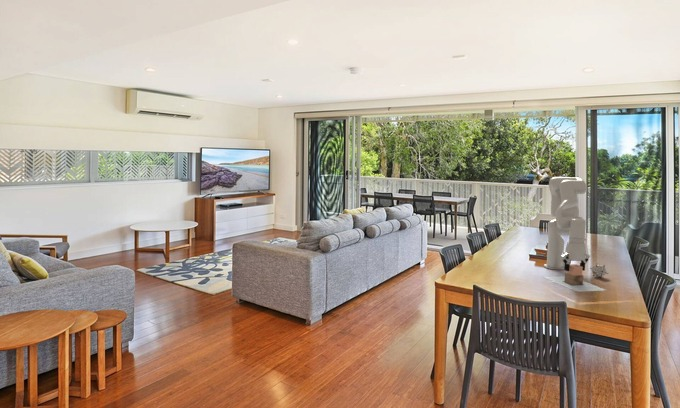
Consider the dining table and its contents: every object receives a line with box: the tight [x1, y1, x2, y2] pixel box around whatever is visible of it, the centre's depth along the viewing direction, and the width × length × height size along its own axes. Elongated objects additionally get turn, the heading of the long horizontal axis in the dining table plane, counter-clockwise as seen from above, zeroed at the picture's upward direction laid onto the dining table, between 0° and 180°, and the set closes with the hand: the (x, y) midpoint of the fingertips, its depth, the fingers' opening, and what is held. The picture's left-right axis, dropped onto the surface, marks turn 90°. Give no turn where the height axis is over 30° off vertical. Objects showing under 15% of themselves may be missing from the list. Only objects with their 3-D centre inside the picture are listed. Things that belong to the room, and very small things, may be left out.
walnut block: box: [564, 272, 584, 285], centre depth 237 cm, size 6×6×5 cm
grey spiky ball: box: [589, 263, 609, 279], centre depth 254 cm, size 9×8×10 cm
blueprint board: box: [543, 275, 606, 292], centre depth 237 cm, size 18×28×1 cm, turn 9°
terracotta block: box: [565, 263, 583, 276], centre depth 237 cm, size 6×6×5 cm
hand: (574, 270), depth 237 cm, fingers open, 9 cm apart
